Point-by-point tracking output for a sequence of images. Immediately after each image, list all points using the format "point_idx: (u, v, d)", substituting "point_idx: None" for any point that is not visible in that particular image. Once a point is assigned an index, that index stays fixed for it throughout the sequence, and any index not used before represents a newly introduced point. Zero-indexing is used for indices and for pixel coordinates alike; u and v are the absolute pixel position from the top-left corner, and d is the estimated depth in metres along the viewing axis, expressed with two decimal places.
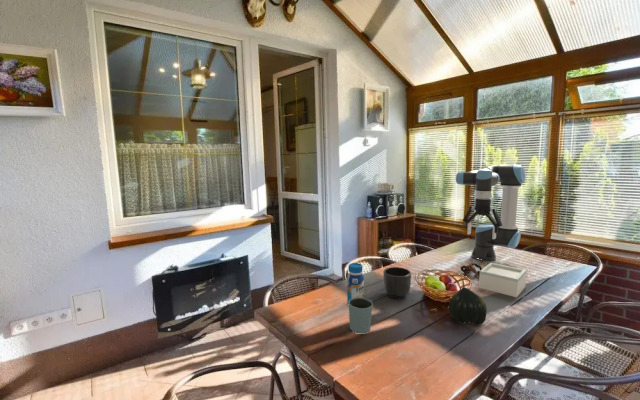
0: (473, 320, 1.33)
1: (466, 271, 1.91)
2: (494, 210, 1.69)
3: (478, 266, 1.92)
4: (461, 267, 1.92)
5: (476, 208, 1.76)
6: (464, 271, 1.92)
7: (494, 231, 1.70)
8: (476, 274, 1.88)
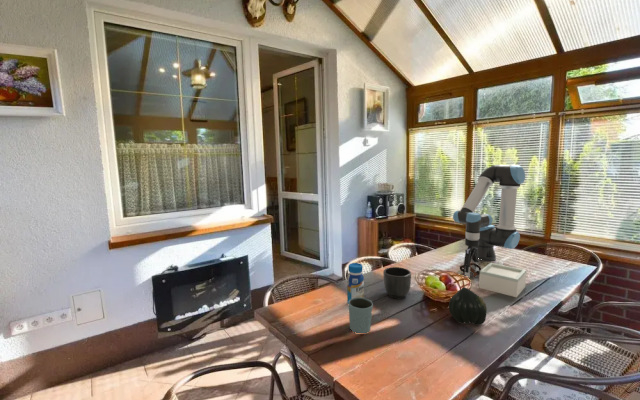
0: (473, 320, 1.33)
1: None
2: (465, 251, 1.86)
3: (477, 266, 1.92)
4: (460, 267, 1.93)
5: None
6: (463, 271, 1.93)
7: None
8: (475, 274, 1.88)
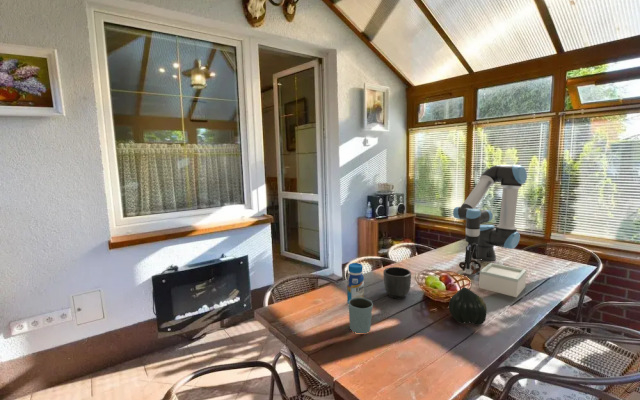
0: (473, 320, 1.33)
1: (464, 268, 1.92)
2: None
3: (477, 263, 1.92)
4: (459, 264, 1.93)
5: None
6: (462, 268, 1.93)
7: None
8: (474, 271, 1.88)
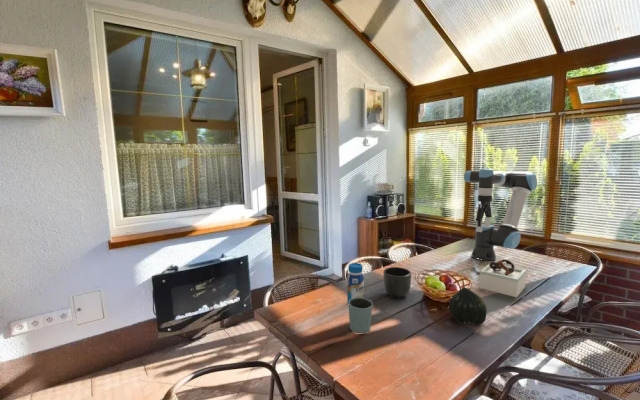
0: (473, 320, 1.33)
1: (496, 268, 1.73)
2: None
3: (510, 263, 1.73)
4: (490, 263, 1.74)
5: None
6: (493, 268, 1.74)
7: (477, 224, 1.88)
8: (507, 271, 1.69)
